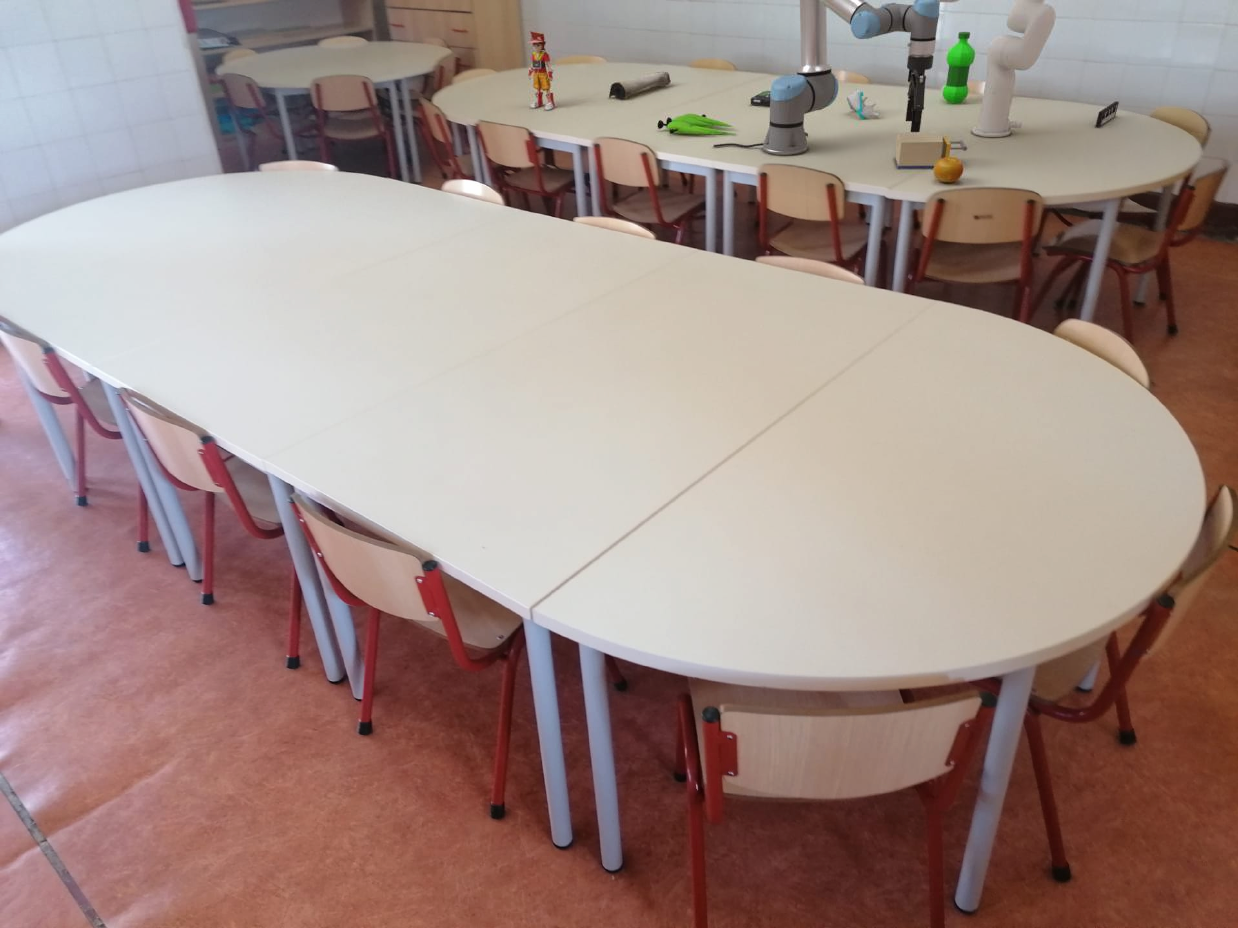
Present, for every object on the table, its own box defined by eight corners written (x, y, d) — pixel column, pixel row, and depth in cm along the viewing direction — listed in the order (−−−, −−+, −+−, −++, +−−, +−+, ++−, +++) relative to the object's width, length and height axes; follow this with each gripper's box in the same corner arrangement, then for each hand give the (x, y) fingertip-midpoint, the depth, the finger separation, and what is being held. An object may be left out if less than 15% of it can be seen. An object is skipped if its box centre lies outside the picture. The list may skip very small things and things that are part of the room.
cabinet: (934, 158, 297) (938, 132, 292) (939, 168, 288) (943, 141, 283) (894, 159, 299) (897, 133, 294) (898, 168, 290) (901, 142, 285)
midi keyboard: (1099, 127, 316) (1102, 112, 313) (1095, 126, 316) (1098, 112, 314) (1115, 116, 326) (1119, 101, 323) (1111, 115, 327) (1115, 101, 324)
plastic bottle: (973, 101, 354) (984, 32, 339) (955, 106, 349) (966, 36, 335) (952, 97, 361) (962, 29, 346) (934, 102, 356) (944, 33, 342)
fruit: (927, 172, 273) (945, 149, 270) (928, 175, 281) (945, 152, 278) (950, 188, 272) (968, 164, 269) (951, 190, 280) (968, 167, 277)
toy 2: (646, 133, 336) (718, 146, 323) (647, 118, 333) (719, 132, 320) (682, 121, 356) (750, 133, 343) (683, 107, 353) (752, 119, 341)
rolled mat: (651, 76, 408) (662, 61, 399) (662, 93, 408) (674, 79, 400) (605, 92, 391) (616, 77, 383) (617, 110, 391) (628, 95, 383)
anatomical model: (842, 88, 347) (867, 81, 346) (844, 115, 353) (869, 108, 352) (853, 97, 335) (879, 90, 334) (855, 125, 341) (881, 118, 340)
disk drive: (773, 107, 363) (788, 98, 373) (773, 100, 361) (788, 91, 371) (750, 105, 368) (765, 96, 378) (750, 98, 366) (765, 89, 376)
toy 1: (525, 109, 381) (517, 32, 364) (534, 104, 388) (527, 28, 371) (550, 110, 377) (543, 32, 360) (559, 105, 384) (553, 28, 367)
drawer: (960, 156, 294) (963, 136, 291) (965, 164, 287) (968, 144, 283) (906, 156, 297) (909, 136, 293) (910, 165, 289) (912, 144, 286)
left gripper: (903, 47, 286) (896, 117, 298) (913, 63, 265) (904, 137, 277) (928, 47, 284) (919, 116, 296) (939, 62, 264) (929, 136, 276)
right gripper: (917, 17, 293) (910, 73, 302) (905, 26, 280) (898, 84, 290) (941, 17, 290) (933, 74, 299) (930, 26, 277) (922, 85, 287)
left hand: (912, 126), depth 287 cm, fingers open, 13 cm apart
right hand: (916, 79), depth 295 cm, fingers open, 9 cm apart
